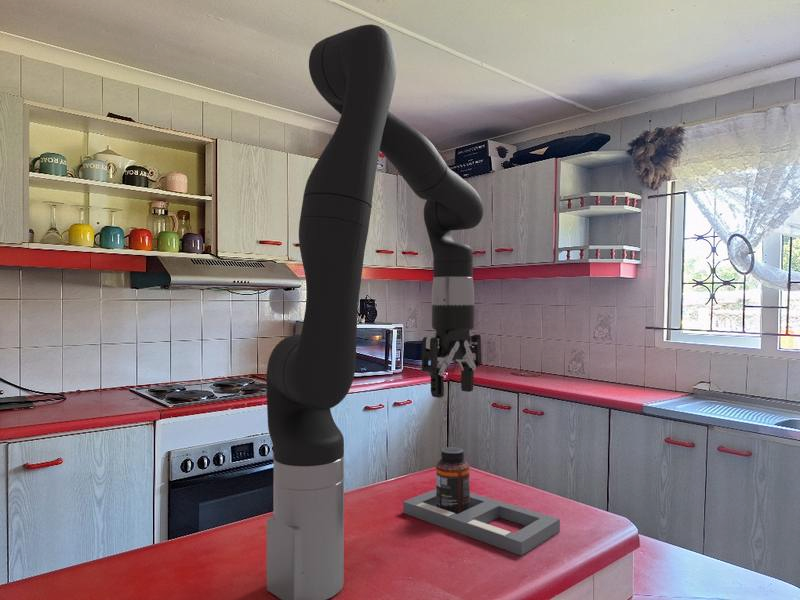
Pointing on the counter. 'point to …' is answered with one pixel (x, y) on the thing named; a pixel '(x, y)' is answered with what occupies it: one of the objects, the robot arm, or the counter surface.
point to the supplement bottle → (452, 481)
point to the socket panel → (487, 521)
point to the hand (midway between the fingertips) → (452, 394)
